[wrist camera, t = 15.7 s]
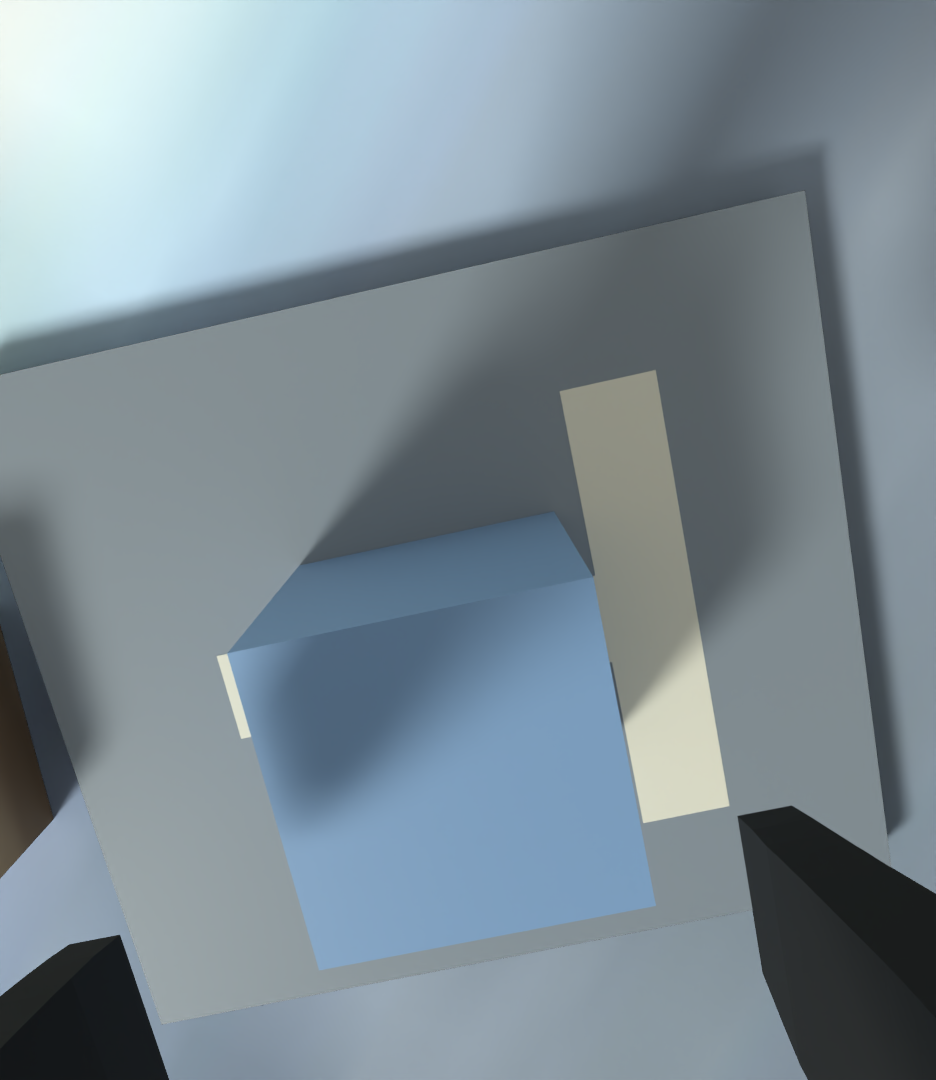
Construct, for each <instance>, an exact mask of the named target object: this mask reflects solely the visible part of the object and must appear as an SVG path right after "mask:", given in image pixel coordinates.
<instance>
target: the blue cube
mask: <svg viewBox="0 0 936 1080" xmlns="http://www.w3.org/2000/svg"><path fill="white" fill-rule="evenodd" d="M227 655H228V658H229V662H230V665H231V669H232V672H233V675H234V679H235V682H236V686H237V689H238V693H239V696H240V700H241V703H242V706H243V710H244V713H245V717H246V720H247V724H248V727H249V731H250V734H251V737H252V741H253V744H254V748H255V751H256V755H257V758H258V762H259V765H260V768H261V772H262V775H263V779H264V782H265V786H266V789H267V793H268V796H269V799H270V803H271V806H272V810H273V813H274V817H275V820H276V824H277V827H278V831H279V834H280V837H281V841H282V844H283V848H284V851H285V855H286V858H287V862H288V865H289V868H290V872H291V875H292V879H293V882H294V886H295V889H296V893H297V896H298V899H299V903H300V906H301V910H302V913H303V917H304V920H305V924H306V927H307V930H308V934H309V937H310V941H311V944H312V948H313V951H314V955H315V958H316V961H317V965H318V968H319V970H324V969H330V968H335V967H340V966H345V965H351V964H356V963H361V962H366V961H371V960H377V959H382V958H387V957H392V956H397V955H403V954H408V953H413V952H418V951H423V950H429V949H434V948H439V947H444V946H450V945H455V944H460V943H465V942H470V941H476V940H481V939H486V938H491V937H496V936H502V935H507V934H512V933H517V932H523V931H528V930H533V929H538V928H543V927H549V926H554V925H559V924H564V923H569V922H575V921H580V920H585V919H590V918H595V917H601V916H606V915H611V914H616V913H622V912H627V911H632V910H637V909H642V908H648V907H653V906H656V903H655V898H654V893H653V888H652V882H651V877H650V872H649V867H648V861H647V856H646V851H645V846H644V840H643V835H642V830H641V825H640V819H639V814H638V809H637V804H636V798H635V793H634V788H633V783H632V778H631V772H630V767H629V762H628V757H627V751H626V746H625V741H624V736H623V730H622V725H621V720H620V715H619V709H618V704H617V699H616V694H615V688H614V683H613V678H612V673H611V667H610V662H609V657H608V652H607V646H606V641H605V636H604V631H603V625H602V620H601V615H600V610H599V605H598V599H597V594H596V589H595V584H594V578H593V576H592V574H591V572H590V571H589V569H588V567H587V566H586V564H585V562H584V561H583V559H582V557H581V556H580V554H579V552H578V551H577V549H576V547H575V546H574V544H573V542H572V541H571V539H570V537H569V536H568V534H567V532H566V531H565V529H564V527H563V526H562V524H561V522H560V521H559V519H558V517H557V515H556V514H555V512H554V511H553V512H548V513H544V514H539V515H534V516H529V517H525V518H520V519H515V520H511V521H506V522H501V523H496V524H492V525H487V526H482V527H478V528H473V529H468V530H464V531H459V532H454V533H449V534H445V535H440V536H435V537H431V538H426V539H421V540H416V541H412V542H407V543H402V544H398V545H393V546H388V547H383V548H379V549H374V550H369V551H365V552H360V553H355V554H351V555H346V556H341V557H336V558H332V559H327V560H322V561H318V562H313V563H308V564H303V565H299V566H298V568H297V569H296V570H295V571H294V573H293V574H292V575H291V576H290V577H289V579H288V580H287V581H286V582H285V583H284V585H283V586H282V587H281V588H280V590H279V591H278V592H277V593H276V594H275V596H274V597H273V598H272V599H271V601H270V602H269V603H268V604H267V605H266V607H265V608H264V609H263V610H262V612H261V613H260V614H259V615H258V616H257V618H256V619H255V620H254V621H253V622H252V624H251V625H250V626H249V627H248V629H247V630H246V631H245V632H244V633H243V635H242V636H241V637H240V638H239V640H238V641H237V642H236V643H235V644H234V646H233V647H232V648H231V649H230V651H229V652H228V653H227Z"/></svg>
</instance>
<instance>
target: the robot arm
mask: <svg viewBox="0 0 936 1080" xmlns="http://www.w3.org/2000/svg"><path fill="white" fill-rule="evenodd" d="M737 817H738V823H739V829H740V836H741V842H742V848H743V854H744V860H745V866H746V873H747V879H748V885H749V891H750V897H751V903H752V910H753V916H754V922H755V928H756V934H757V940H758V947H759V953H760V959H761V965H762V971H763V975H764V977H765V980H766V982H767V985H768V987H769V990H770V992H771V995H772V997H773V1000H774V1002H775V1005H776V1007H777V1010H778V1012H779V1015H780V1017H781V1020H782V1022H783V1025H784V1027H785V1029H786V1032H787V1034H788V1037H789V1039H790V1041H791V1044H792V1046H793V1049H794V1051H795V1054H796V1056H797V1058H798V1061H799V1063H800V1065H801V1067H802V1069H803V1071H804V1073H805V1075H806V1077H807V1079H808V1080H936V894H935V893H933V892H932V891H930V890H928V889H927V888H925V887H923V886H922V885H920V884H918V883H916V882H915V881H913V880H911V879H910V878H908V877H906V876H905V875H903V874H901V873H900V872H898V871H896V870H895V869H893V868H891V867H890V866H888V865H886V864H885V863H883V862H882V861H880V860H878V859H877V858H875V857H874V856H872V855H870V854H869V853H867V852H866V851H864V850H862V849H861V848H859V847H857V846H856V845H854V844H853V843H851V842H849V841H848V840H846V839H845V838H843V837H842V836H840V835H838V834H837V833H835V832H834V831H832V830H831V829H829V828H827V827H826V826H824V825H823V824H821V823H819V822H818V821H816V820H815V819H813V818H812V817H810V816H808V815H807V814H805V813H803V812H802V811H800V810H798V809H797V808H795V807H793V806H792V805H791V806H786V807H781V808H776V809H771V810H765V811H760V812H755V813H750V814H745V815H739V816H737ZM0 1080H169V1078H168V1075H167V1072H166V1069H165V1066H164V1063H163V1060H162V1057H161V1055H160V1052H159V1049H158V1046H157V1043H156V1040H155V1037H154V1034H153V1031H152V1028H151V1025H150V1022H149V1019H148V1016H147V1013H146V1010H145V1007H144V1004H143V1002H142V999H141V996H140V993H139V990H138V987H137V984H136V981H135V978H134V975H133V972H132V969H131V966H130V963H129V960H128V957H127V954H126V951H125V948H124V946H123V943H122V940H121V937H120V935H116V936H111V937H106V938H101V939H96V940H90V941H85V942H80V943H75V944H70V945H68V946H67V947H65V948H64V949H62V950H61V951H59V952H58V953H56V954H55V955H53V956H52V957H51V958H49V959H48V960H46V961H45V962H44V963H42V964H41V965H40V966H38V967H37V968H36V969H34V970H33V971H32V972H31V973H29V974H28V975H27V976H25V977H24V978H23V979H22V980H20V981H19V982H18V983H16V984H15V985H14V986H13V987H11V988H10V989H9V990H8V991H6V992H5V993H4V994H3V995H1V996H0Z"/></svg>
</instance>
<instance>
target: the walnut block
mask: <svg viewBox="0 0 936 1080" xmlns="http://www.w3.org/2000/svg"><path fill="white" fill-rule="evenodd" d="M53 819H54V818H53V815H52V811H51V807H50V804H49V800H48V797H47V793H46V789H45V786H44V782H43V778H42V775H41V771H40V768H39V764H38V760H37V757H36V753H35V749H34V746H33V742H32V739H31V735H30V731H29V728H28V724H27V720H26V717H25V713H24V710H23V706H22V702H21V699H20V695H19V691H18V688H17V684H16V681H15V677H14V673H13V670H12V666H11V662H10V659H9V655H8V652H7V648H6V644H5V641H4V637H3V633H2V630H1V626H0V878H1V877H2V876H3V875H4V874H5V873H6V871H7V870H8V869H9V868H10V867H11V866H12V865H13V864H14V863H15V861H16V860H17V859H18V858H19V857H20V856H21V855H22V854H23V853H24V851H25V850H26V849H27V848H28V847H29V846H30V845H31V844H32V843H33V841H34V840H35V839H36V838H37V837H38V836H39V835H40V834H41V832H42V831H43V830H44V829H45V828H46V827H47V826H48V825H49V824H50V822H51V821H52V820H53Z"/></svg>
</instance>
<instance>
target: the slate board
mask: <svg viewBox="0 0 936 1080" xmlns="http://www.w3.org/2000/svg"><path fill="white" fill-rule="evenodd" d="M553 511H554V512H555V514H556V515H557V517H558V519H559V521H560V522H561V524H562V526H563V527H564V529H565V531H566V532H567V534H568V536H569V537H570V539H571V541H572V542H573V544H574V546H575V547H576V549H577V551H578V552H579V554H580V556H581V557H582V559H583V561H584V562H585V564H586V566H587V567H588V569H589V571H590V572H591V574H592V576H593V578H594V584H595V589H596V594H597V599H598V605H599V610H600V615H601V620H602V625H603V631H604V636H605V641H606V646H607V652H608V657H609V662H610V667H611V673H612V678H613V683H614V688H615V694H616V699H617V704H618V709H619V715H620V720H621V725H622V730H623V736H624V741H625V746H626V751H627V757H628V762H629V767H630V772H631V778H632V783H633V788H634V793H635V798H636V804H637V809H638V814H639V819H640V825H641V830H642V835H643V840H644V846H645V851H646V856H647V861H648V867H649V872H650V877H651V882H652V888H653V893H654V898H655V903H656V906H653V907H648V908H642V909H637V910H632V911H627V912H622V913H616V914H611V915H606V916H601V917H595V918H590V919H585V920H580V921H575V922H569V923H564V924H559V925H554V926H549V927H543V928H538V929H533V930H528V931H523V932H517V933H512V934H507V935H502V936H496V937H491V938H486V939H481V940H476V941H470V942H465V943H460V944H455V945H450V946H444V947H439V948H434V949H429V950H423V951H418V952H413V953H408V954H403V955H397V956H392V957H387V958H382V959H377V960H371V961H366V962H361V963H356V964H351V965H345V966H340V967H335V968H330V969H324V970H319V968H318V965H317V961H316V958H315V955H314V951H313V948H312V944H311V941H310V937H309V934H308V930H307V927H306V924H305V920H304V917H303V913H302V910H301V906H300V903H299V899H298V896H297V893H296V889H295V886H294V882H293V879H292V875H291V872H290V868H289V865H288V862H287V858H286V855H285V851H284V848H283V844H282V841H281V837H280V834H279V831H278V827H277V824H276V820H275V817H274V813H273V810H272V806H271V803H270V799H269V796H268V793H267V789H266V786H265V782H264V779H263V775H262V772H261V768H260V765H259V762H258V758H257V755H256V751H255V748H254V744H253V741H252V737H251V734H250V731H249V727H248V724H247V720H246V717H245V713H244V710H243V706H242V703H241V700H240V696H239V693H238V689H237V686H236V682H235V679H234V675H233V672H232V669H231V665H230V662H229V658H228V655H227V653H228V652H229V651H230V649H231V648H232V647H233V646H234V644H235V643H236V642H237V641H238V640H239V638H240V637H241V636H242V635H243V633H244V632H245V631H246V630H247V629H248V627H249V626H250V625H251V624H252V622H253V621H254V620H255V619H256V618H257V616H258V615H259V614H260V613H261V612H262V610H263V609H264V608H265V607H266V605H267V604H268V603H269V602H270V601H271V599H272V598H273V597H274V596H275V594H276V593H277V592H278V591H279V590H280V588H281V587H282V586H283V585H284V583H285V582H286V581H287V580H288V579H289V577H290V576H291V575H292V574H293V573H294V571H295V570H296V569H297V568H298V566H299V565H303V564H308V563H313V562H318V561H322V560H327V559H332V558H336V557H341V556H346V555H351V554H355V553H360V552H365V551H369V550H374V549H379V548H383V547H388V546H393V545H398V544H402V543H407V542H412V541H416V540H421V539H426V538H431V537H435V536H440V535H445V534H449V533H454V532H459V531H464V530H468V529H473V528H478V527H482V526H487V525H492V524H496V523H501V522H506V521H511V520H515V519H520V518H525V517H529V516H534V515H539V514H544V513H548V512H553ZM0 556H1V559H2V562H3V565H4V568H5V571H6V574H7V577H8V579H9V582H10V585H11V588H12V591H13V594H14V597H15V600H16V603H17V606H18V608H19V611H20V614H21V617H22V620H23V623H24V626H25V629H26V632H27V635H28V638H29V640H30V643H31V646H32V649H33V652H34V655H35V658H36V661H37V664H38V667H39V669H40V672H41V675H42V678H43V681H44V684H45V687H46V690H47V693H48V696H49V699H50V701H51V704H52V707H53V710H54V713H55V716H56V719H57V722H58V725H59V728H60V730H61V733H62V736H63V739H64V742H65V745H66V748H67V751H68V754H69V757H70V760H71V762H72V765H73V768H74V771H75V774H76V777H77V780H78V783H79V786H80V789H81V791H82V794H83V797H84V800H85V803H86V806H87V809H88V812H89V815H90V818H91V821H92V823H93V826H94V829H95V832H96V835H97V838H98V841H99V844H100V847H101V850H102V852H103V855H104V858H105V861H106V864H107V867H108V870H109V873H110V876H111V879H112V882H113V884H114V887H115V890H116V893H117V896H118V899H119V902H120V905H121V908H122V911H123V913H124V916H125V919H126V922H127V925H128V928H129V931H130V934H131V937H132V940H133V943H134V945H135V948H136V951H137V954H138V957H139V960H140V963H141V966H142V969H143V972H144V974H145V977H146V980H147V983H148V986H149V989H150V992H151V995H152V998H153V1001H154V1003H155V1006H156V1009H157V1012H158V1015H159V1018H160V1021H161V1024H167V1023H172V1022H177V1021H182V1020H187V1019H193V1018H198V1017H203V1016H208V1015H213V1014H218V1013H224V1012H229V1011H234V1010H239V1009H244V1008H249V1007H255V1006H260V1005H265V1004H270V1003H275V1002H280V1001H285V1000H291V999H296V998H301V997H306V996H311V995H316V994H322V993H327V992H332V991H337V990H342V989H347V988H353V987H358V986H363V985H368V984H373V983H378V982H384V981H389V980H394V979H399V978H404V977H409V976H414V975H420V974H425V973H430V972H435V971H440V970H445V969H451V968H456V967H461V966H466V965H471V964H476V963H482V962H487V961H492V960H497V959H502V958H507V957H512V956H518V955H523V954H528V953H533V952H538V951H543V950H549V949H554V948H559V947H564V946H569V945H574V944H580V943H585V942H590V941H595V940H600V939H605V938H611V937H616V936H621V935H626V934H631V933H636V932H641V931H647V930H652V929H657V928H662V927H667V926H672V925H678V924H683V923H688V922H693V921H698V920H703V919H709V918H714V917H719V916H724V915H729V914H734V913H739V912H745V911H750V910H752V903H751V897H750V891H749V885H748V879H747V873H746V866H745V860H744V854H743V848H742V842H741V836H740V829H739V823H738V817H737V816H739V815H745V814H750V813H755V812H760V811H765V810H771V809H776V808H781V807H786V806H791V805H792V806H793V807H795V808H797V809H798V810H800V811H802V812H803V813H805V814H807V815H808V816H810V817H812V818H813V819H815V820H816V821H818V822H819V823H821V824H823V825H824V826H826V827H827V828H829V829H831V830H832V831H834V832H835V833H837V834H838V835H840V836H842V837H843V838H845V839H846V840H848V841H849V842H851V843H853V844H854V845H856V846H857V847H859V848H861V849H862V850H864V851H866V852H867V853H869V854H870V855H872V856H874V857H875V858H877V859H878V860H880V861H882V862H883V863H885V864H886V865H888V866H890V867H891V861H890V853H889V845H888V837H887V830H886V822H885V814H884V806H883V798H882V790H881V783H880V775H879V767H878V759H877V751H876V743H875V736H874V728H873V720H872V712H871V704H870V696H869V689H868V681H867V673H866V665H865V657H864V649H863V642H862V634H861V626H860V618H859V610H858V602H857V595H856V587H855V579H854V571H853V563H852V555H851V548H850V540H849V532H848V524H847V516H846V508H845V501H844V493H843V485H842V477H841V469H840V461H839V454H838V446H837V438H836V430H835V422H834V414H833V407H832V399H831V391H830V383H829V375H828V367H827V360H826V352H825V344H824V336H823V328H822V320H821V313H820V305H819V297H818V289H817V281H816V273H815V266H814V258H813V250H812V242H811V234H810V226H809V219H808V211H807V203H806V195H805V190H804V191H799V192H795V193H791V194H786V195H782V196H778V197H773V198H769V199H764V200H760V201H756V202H751V203H747V204H743V205H738V206H734V207H730V208H725V209H721V210H716V211H712V212H708V213H703V214H699V215H695V216H690V217H686V218H682V219H677V220H673V221H668V222H664V223H660V224H655V225H651V226H647V227H642V228H638V229H634V230H629V231H625V232H621V233H616V234H612V235H607V236H603V237H599V238H594V239H590V240H586V241H581V242H577V243H573V244H568V245H564V246H559V247H555V248H551V249H546V250H542V251H538V252H533V253H529V254H525V255H520V256H516V257H511V258H507V259H503V260H498V261H494V262H490V263H485V264H481V265H477V266H472V267H468V268H463V269H459V270H455V271H450V272H446V273H442V274H437V275H433V276H429V277H424V278H420V279H415V280H411V281H407V282H402V283H398V284H394V285H389V286H385V287H381V288H376V289H372V290H367V291H363V292H359V293H354V294H350V295H346V296H341V297H337V298H333V299H328V300H324V301H319V302H315V303H311V304H306V305H302V306H298V307H293V308H289V309H285V310H280V311H276V312H271V313H267V314H263V315H258V316H254V317H250V318H245V319H241V320H237V321H232V322H228V323H223V324H219V325H215V326H210V327H206V328H202V329H197V330H193V331H189V332H184V333H180V334H176V335H171V336H167V337H162V338H158V339H154V340H149V341H145V342H141V343H136V344H132V345H128V346H123V347H119V348H114V349H110V350H106V351H101V352H97V353H93V354H88V355H84V356H80V357H75V358H71V359H66V360H62V361H58V362H53V363H49V364H45V365H40V366H36V367H32V368H27V369H23V370H18V371H14V372H10V373H5V374H1V375H0Z"/></svg>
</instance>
